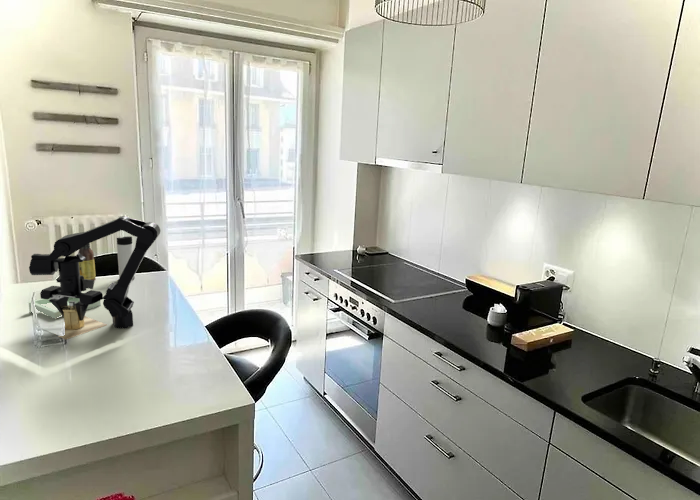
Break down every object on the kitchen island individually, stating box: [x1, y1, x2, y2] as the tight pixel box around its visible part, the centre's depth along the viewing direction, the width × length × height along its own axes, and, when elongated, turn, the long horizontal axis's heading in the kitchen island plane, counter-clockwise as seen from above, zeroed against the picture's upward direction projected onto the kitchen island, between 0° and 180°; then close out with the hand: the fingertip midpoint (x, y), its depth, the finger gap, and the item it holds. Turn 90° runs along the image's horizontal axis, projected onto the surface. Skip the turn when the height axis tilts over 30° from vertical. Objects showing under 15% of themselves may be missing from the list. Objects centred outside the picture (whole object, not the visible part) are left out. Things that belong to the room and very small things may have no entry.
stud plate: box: [57, 315, 108, 341], centre depth 151 cm, size 14×14×6 cm
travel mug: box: [116, 235, 136, 281], centre depth 202 cm, size 6×7×20 cm
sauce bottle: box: [77, 243, 97, 282], centre depth 196 cm, size 6×6×20 cm
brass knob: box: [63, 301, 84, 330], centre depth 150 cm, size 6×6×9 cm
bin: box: [27, 297, 101, 319], centre depth 166 cm, size 16×16×4 cm
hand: (74, 319), depth 150 cm, fingers closed on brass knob, 5 cm apart
